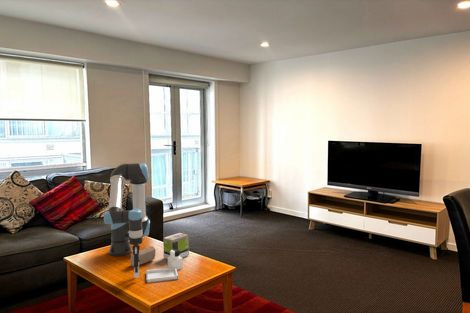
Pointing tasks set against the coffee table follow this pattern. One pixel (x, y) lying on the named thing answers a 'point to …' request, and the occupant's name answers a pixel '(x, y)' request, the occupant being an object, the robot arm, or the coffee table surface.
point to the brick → (144, 255)
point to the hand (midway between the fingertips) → (136, 275)
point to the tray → (161, 274)
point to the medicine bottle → (175, 259)
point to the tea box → (176, 244)
